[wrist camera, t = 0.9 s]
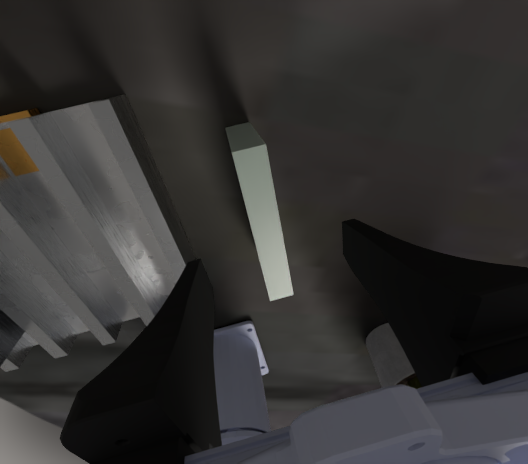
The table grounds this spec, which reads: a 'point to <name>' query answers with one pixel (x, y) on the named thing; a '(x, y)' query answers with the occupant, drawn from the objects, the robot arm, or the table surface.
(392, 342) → the house plant
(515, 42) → the table surface
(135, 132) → the rack
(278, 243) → the panel
